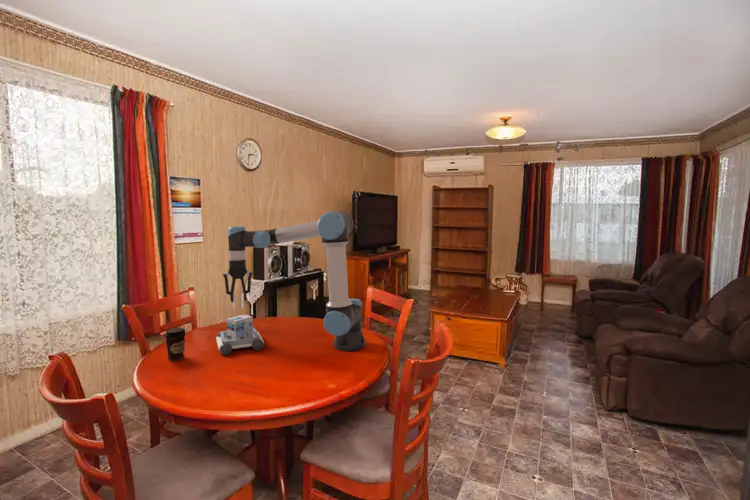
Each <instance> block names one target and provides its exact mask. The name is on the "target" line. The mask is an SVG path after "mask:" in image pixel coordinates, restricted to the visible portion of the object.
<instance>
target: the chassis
mask: <svg viewBox="0 0 750 500" xmlns="http://www.w3.org/2000/svg"><path fill="white" fill-rule="evenodd" d="M215 340H216V344H217V349H218V350H217V351H219V352H220V354H221V355H223V356H228V355H230V354H231V353H232V350H234V349H240V348H249V347H252V349H253V350H254V351H258V352H259V351H261V350H262V349H264V346H265V341H264V339H263V337H262V336H261V334H260V332H259V331H257V329H256V328H255V327H253V337H251V338H243V339H235V340H227V330H223V331H222V330H221V331H219V332H218V333H217V335H216V337H215Z"/></svg>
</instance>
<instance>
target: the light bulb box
mask: <svg viewBox="0 0 750 500" xmlns="http://www.w3.org/2000/svg"><path fill="white" fill-rule="evenodd" d="M253 328H254V317H253V316H251V315H248V314H241V315H237V316H233V317H229V318H226V331H227V340H235V339H243V338H251V337H253Z"/></svg>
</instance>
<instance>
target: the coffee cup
mask: <svg viewBox="0 0 750 500" xmlns="http://www.w3.org/2000/svg"><path fill="white" fill-rule="evenodd" d="M165 332H166V333H164V338H165V344H166V353H167V357H168V358H167V359H168V361H169V360H170V361H169V362H177V361H180V360H183V359H185V350H186V349H185V348H186V347H185V346H186V339H185V336H186V329H185V328H183V327H174V328H171V329H168V330H166V331H165Z"/></svg>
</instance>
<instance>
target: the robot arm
mask: <svg viewBox="0 0 750 500" xmlns="http://www.w3.org/2000/svg"><path fill="white" fill-rule="evenodd" d="M353 229H354V220H353V217H351V215H350V214H349V213H347V212H345V211H328V212H325V213H323V214H322V215H321V216H320V218H319V219H318V220H314V221H309V222H304V223H299V224H292V225H288V226H284V227H277V228H272V229H265V230H246V227H245V226H241V225H239V226H238V225H237V226H235V225H233V226H229V227H228V229H227V231H228V232H227V241H228V242H227V243H228V259H229V260H228V270H227V272H224V273H222V276H223V278H224V286H225V294H227V295H229V296H230V303H232V306H233V307H232V309H233V310H236V294H234V293H235V286H236V280H237V279H239V280H240V284H241V288H242V293H241V308H242V309H245V302H246V301H247V297H248V296H247V295H248V294H249V293H251V286H252V285H251V283H252V276H253V272H252V271H249V270H248V269H247V260H246V257H247V255H246V254H247V253H246V248H259V249H260V248H261V249H263V248H267V247H269V246H273V245H275V246H276V245H278V244H282V243H283V244H285V243H291V242H294V241H296V242H297V241H301V240H305V239H306V240H307V239H313V238H319V237H321V244H322V245H323V246H324V247H325V253H326V268H327V269H326V270H327V285H328V286H327V287H328V302H326V304H325V311H326V314H325V315H324V318H323V327H324V329H325V330H326V332H327V333H329V334H330V335H331V336H334V339H333V348H335V350H338V351H341V352H342V351H343V352H355V351H359V350H362V349H364V348H365V347H366V340H365V336H364V334H363V329H362V321H363V320H362V317H363V316H362V315H363V313H362V311H363V310H362V307H363V305H362V300H361V299H359V298H349V283H348V268H347V266H348V265H347V251H346V250H347V249H346V246H347V245H348V243H349V235H350V233H351V232H352V231H353ZM229 275H230V277H231V278H232V279H231V286H230V288H229V279H228V278H229ZM246 275H247V283H246V284H247V286H246V285H245V279H244V277H245V276H246Z"/></svg>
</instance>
